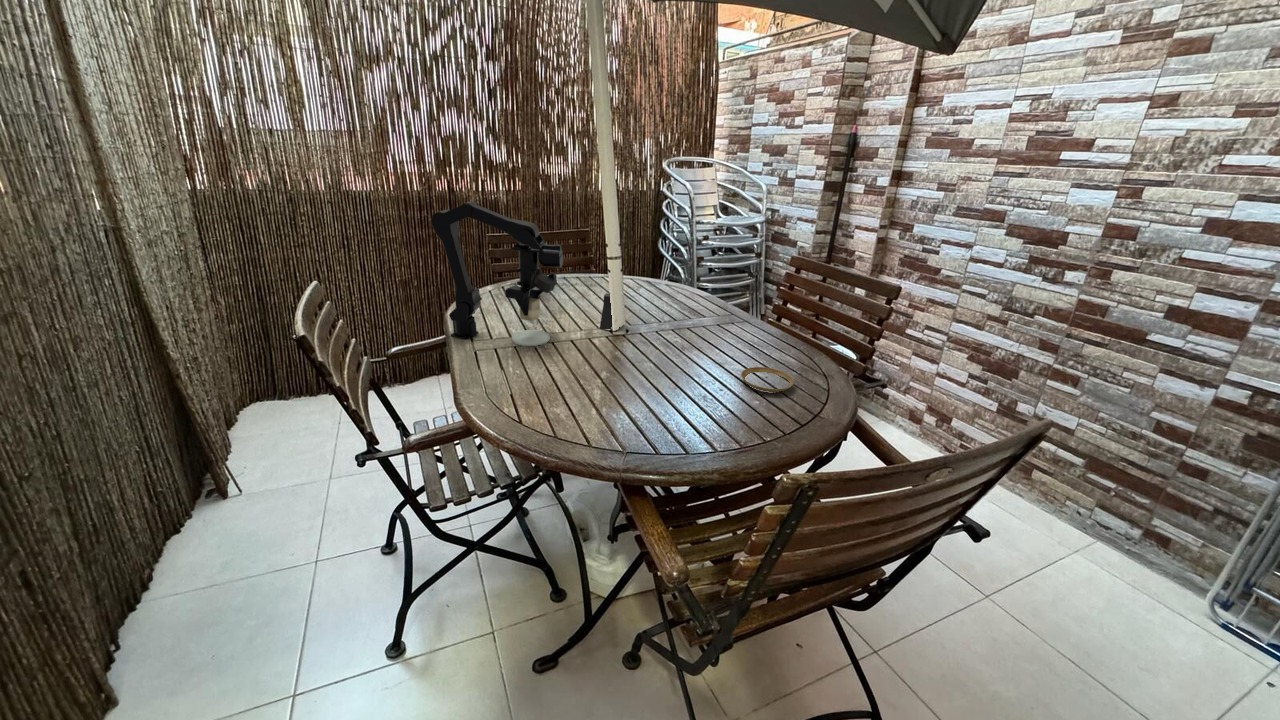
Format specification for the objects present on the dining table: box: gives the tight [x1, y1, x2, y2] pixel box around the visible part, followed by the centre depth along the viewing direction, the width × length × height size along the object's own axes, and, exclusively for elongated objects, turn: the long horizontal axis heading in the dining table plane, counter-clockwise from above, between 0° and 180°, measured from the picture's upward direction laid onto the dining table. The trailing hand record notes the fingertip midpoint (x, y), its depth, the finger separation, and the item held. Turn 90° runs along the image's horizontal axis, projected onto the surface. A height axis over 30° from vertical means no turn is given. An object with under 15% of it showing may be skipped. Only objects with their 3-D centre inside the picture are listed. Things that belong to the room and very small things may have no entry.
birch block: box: [519, 298, 541, 322], centre depth 164 cm, size 4×4×6 cm
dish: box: [511, 329, 550, 347], centre depth 167 cm, size 12×12×1 cm
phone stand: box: [599, 293, 612, 330], centre depth 181 cm, size 9×6×12 cm, turn 161°
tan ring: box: [740, 366, 795, 392], centre depth 146 cm, size 15×15×3 cm
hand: (529, 313), depth 164 cm, fingers closed on birch block, 4 cm apart
